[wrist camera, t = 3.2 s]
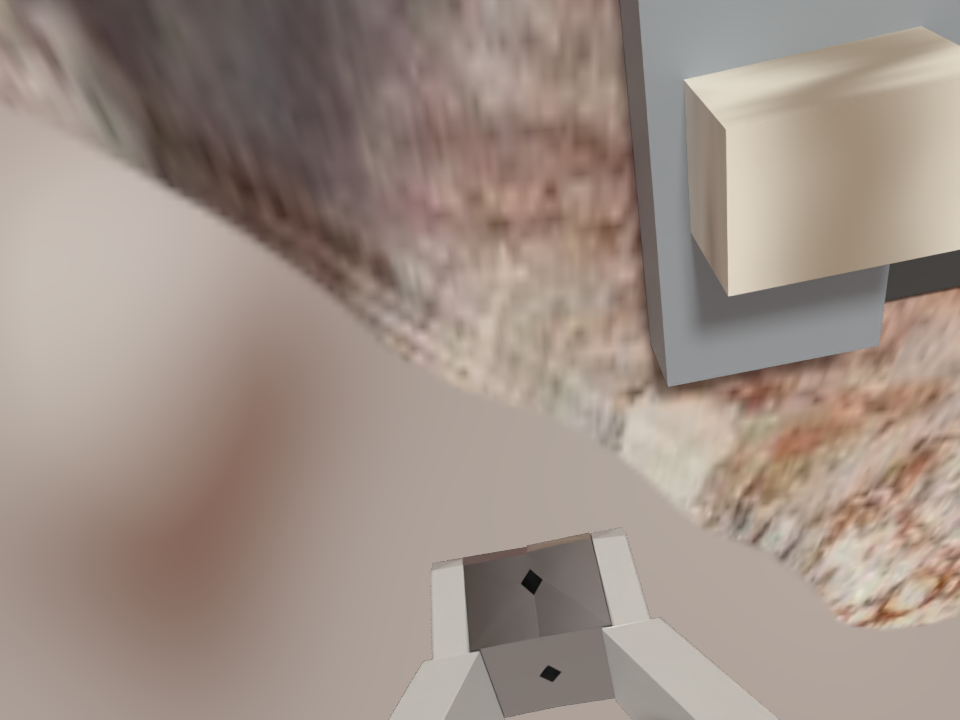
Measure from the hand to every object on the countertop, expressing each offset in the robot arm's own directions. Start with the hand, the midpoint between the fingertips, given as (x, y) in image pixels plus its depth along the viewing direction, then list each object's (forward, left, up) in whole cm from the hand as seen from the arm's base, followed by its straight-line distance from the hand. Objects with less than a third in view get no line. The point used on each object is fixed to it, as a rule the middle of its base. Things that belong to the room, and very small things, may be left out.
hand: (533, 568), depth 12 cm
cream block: (-9, 0, -12) cm, 15 cm away
